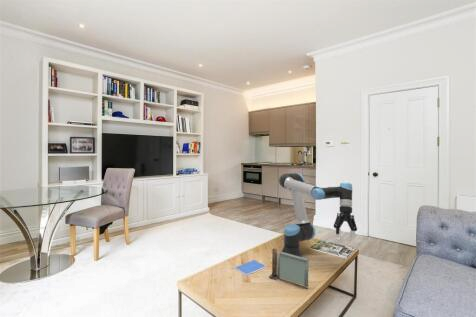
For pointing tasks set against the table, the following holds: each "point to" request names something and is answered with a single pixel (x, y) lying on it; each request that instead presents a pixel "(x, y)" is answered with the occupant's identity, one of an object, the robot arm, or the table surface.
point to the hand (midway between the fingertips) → (345, 240)
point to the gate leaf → (293, 268)
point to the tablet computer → (250, 267)
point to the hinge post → (274, 265)
